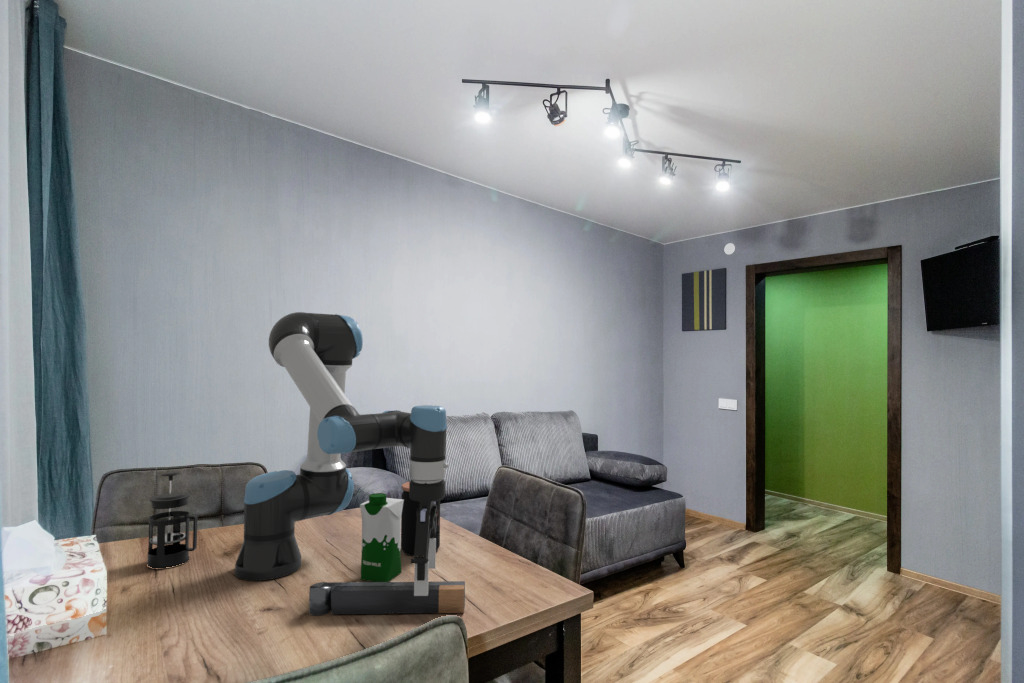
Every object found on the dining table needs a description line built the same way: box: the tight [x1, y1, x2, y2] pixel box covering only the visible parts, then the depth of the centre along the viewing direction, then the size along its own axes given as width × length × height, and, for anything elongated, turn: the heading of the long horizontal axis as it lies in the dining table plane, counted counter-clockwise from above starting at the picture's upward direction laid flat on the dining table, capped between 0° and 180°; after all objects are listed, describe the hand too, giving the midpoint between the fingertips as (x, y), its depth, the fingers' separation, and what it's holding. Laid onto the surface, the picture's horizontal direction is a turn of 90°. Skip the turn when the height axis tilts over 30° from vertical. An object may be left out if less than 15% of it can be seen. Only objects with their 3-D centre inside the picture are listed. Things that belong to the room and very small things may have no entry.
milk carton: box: [359, 492, 404, 582], centre depth 131 cm, size 9×9×20 cm
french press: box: [146, 471, 198, 568], centre depth 139 cm, size 12×9×23 cm
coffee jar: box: [401, 481, 441, 557], centre depth 149 cm, size 11×11×18 cm
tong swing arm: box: [331, 584, 466, 615], centre depth 112 cm, size 27×2×5 cm, turn 92°
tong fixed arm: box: [308, 580, 466, 617], centre depth 113 cm, size 32×4×5 cm, turn 92°
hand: (425, 580), depth 114 cm, fingers open, 13 cm apart
